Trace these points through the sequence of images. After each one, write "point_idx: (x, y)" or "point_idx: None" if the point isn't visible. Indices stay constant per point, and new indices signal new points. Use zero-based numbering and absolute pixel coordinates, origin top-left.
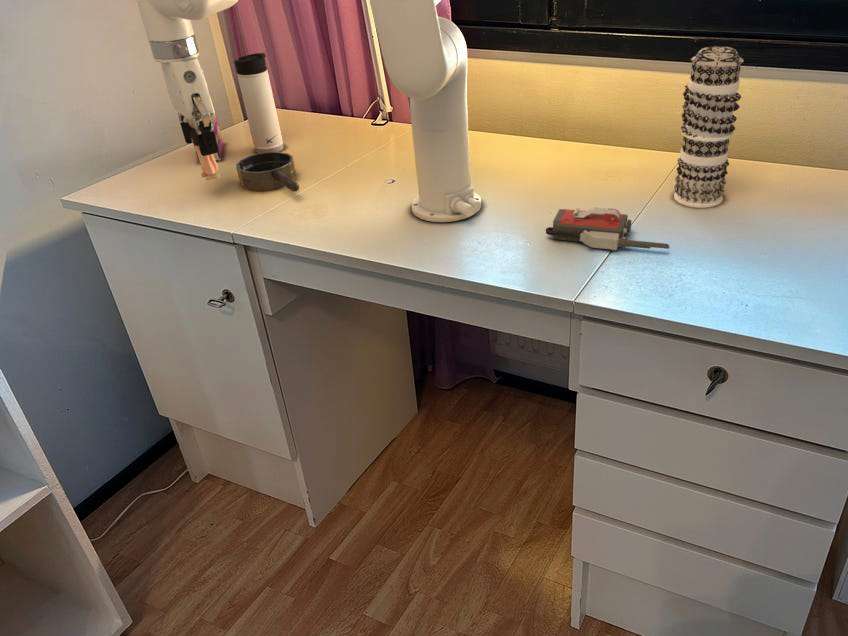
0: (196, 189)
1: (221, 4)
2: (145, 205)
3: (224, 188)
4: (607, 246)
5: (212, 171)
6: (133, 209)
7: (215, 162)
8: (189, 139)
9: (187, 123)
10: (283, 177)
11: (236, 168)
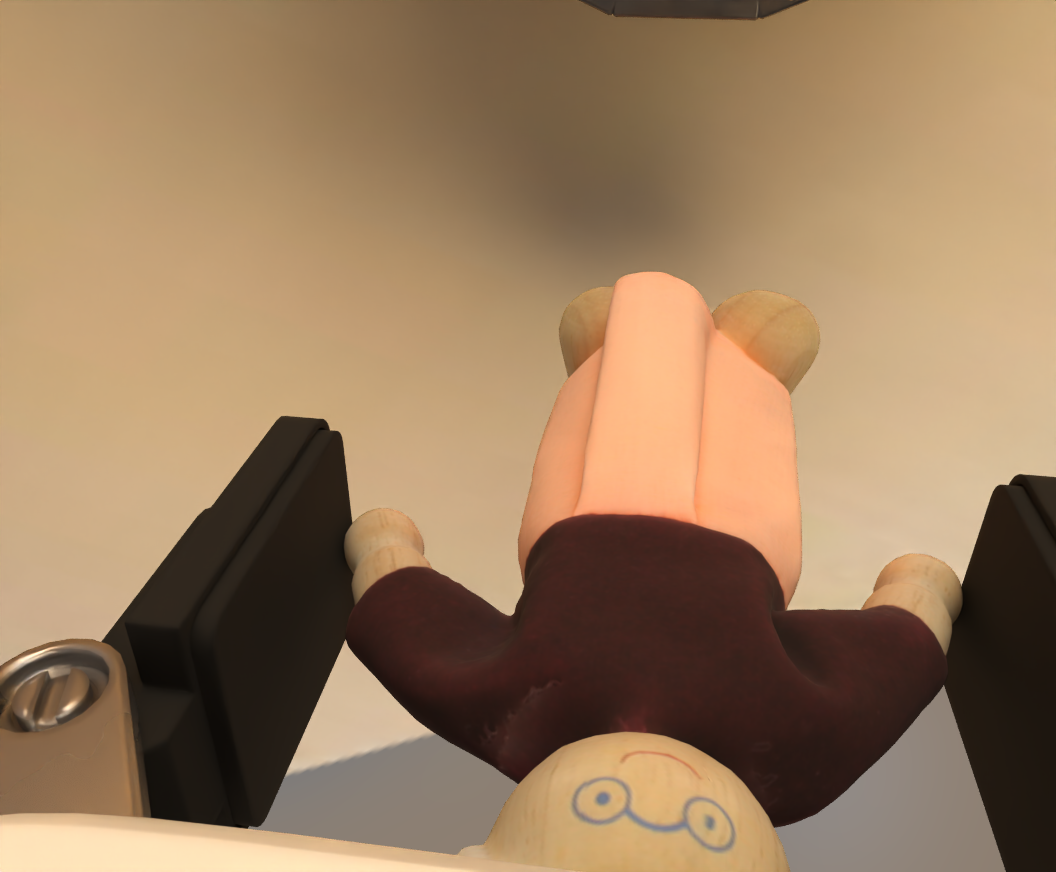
0: (386, 326)
1: None
2: None
3: (533, 138)
4: None
5: (787, 400)
6: None
7: (695, 337)
8: (345, 609)
9: (249, 766)
10: None
11: (622, 16)
